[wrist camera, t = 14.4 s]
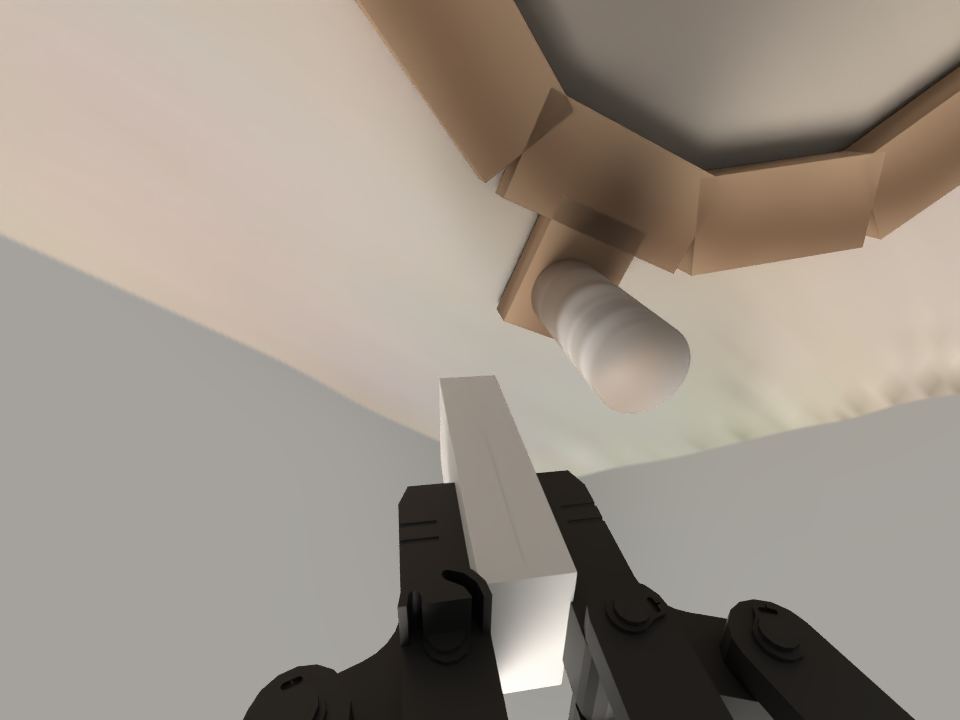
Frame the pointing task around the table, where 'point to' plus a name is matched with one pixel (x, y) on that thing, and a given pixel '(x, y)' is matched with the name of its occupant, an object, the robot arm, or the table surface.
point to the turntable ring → (643, 190)
